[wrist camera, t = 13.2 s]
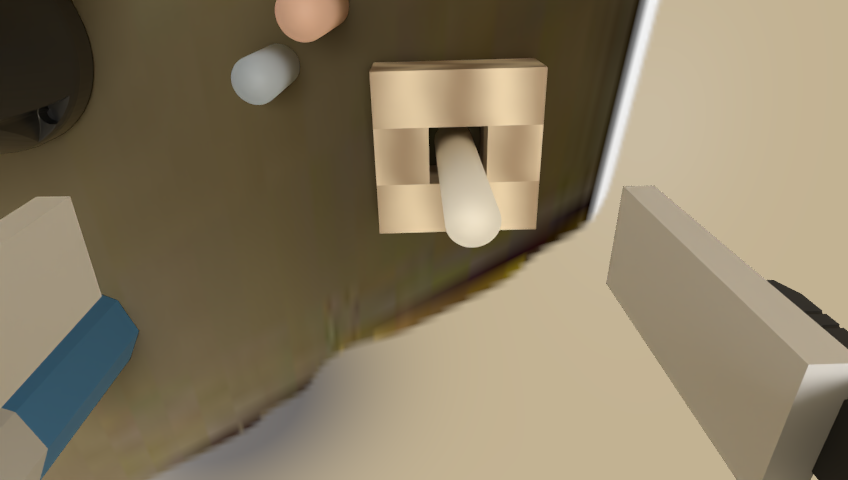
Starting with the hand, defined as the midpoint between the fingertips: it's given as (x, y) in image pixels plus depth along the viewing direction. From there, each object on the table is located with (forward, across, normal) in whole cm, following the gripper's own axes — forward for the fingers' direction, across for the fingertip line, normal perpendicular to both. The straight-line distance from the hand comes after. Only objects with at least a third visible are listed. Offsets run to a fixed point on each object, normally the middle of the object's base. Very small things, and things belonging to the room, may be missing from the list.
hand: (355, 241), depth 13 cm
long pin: (+30, +5, -6) cm, 31 cm away
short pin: (+30, -8, 0) cm, 31 cm away
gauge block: (+30, +5, -6) cm, 31 cm away
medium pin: (+30, -4, +4) cm, 31 cm away
